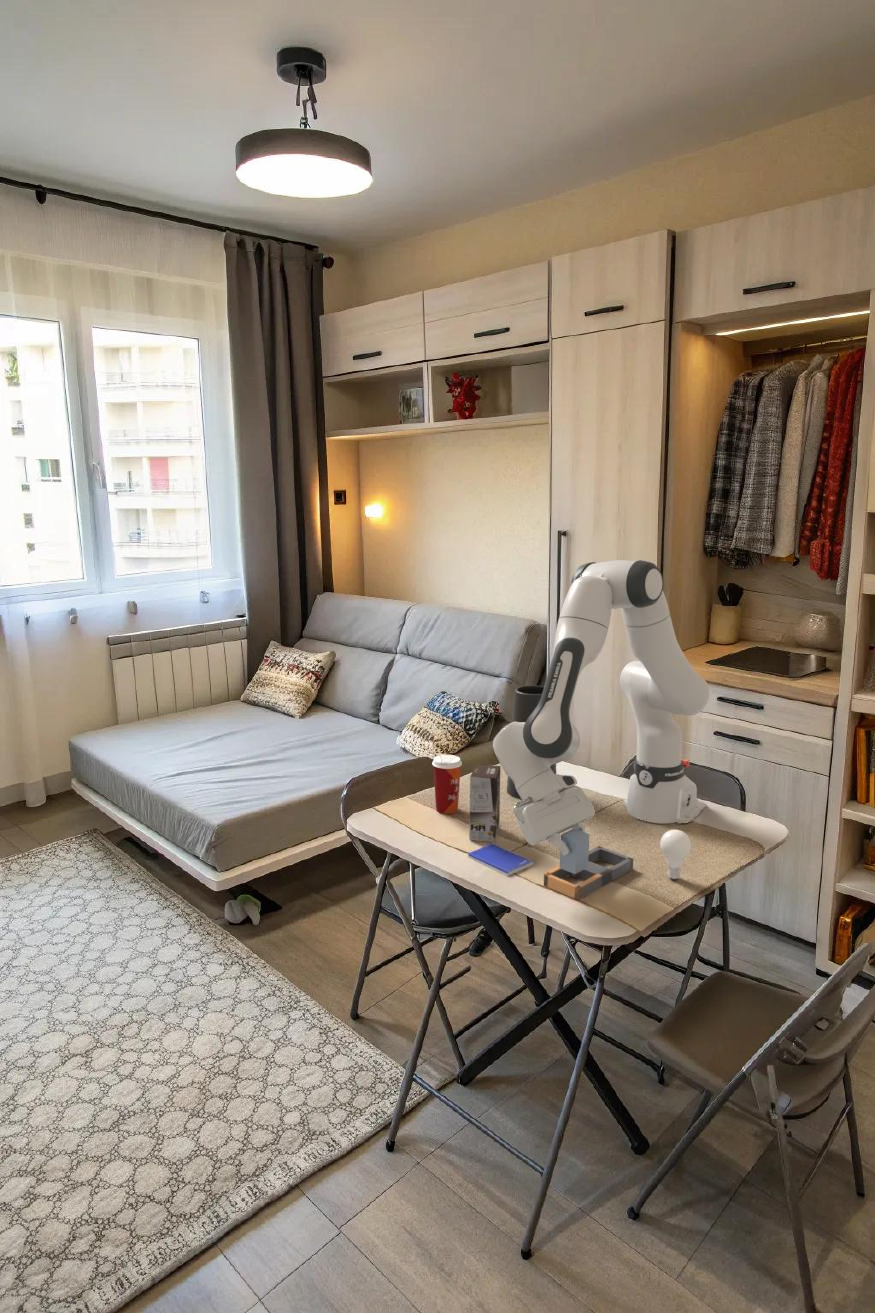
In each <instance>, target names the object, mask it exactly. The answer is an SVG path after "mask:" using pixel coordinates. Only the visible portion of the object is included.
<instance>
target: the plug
mask: <svg viewBox="0 0 875 1313" xmlns="http://www.w3.org/2000/svg"><path fill="white" fill-rule="evenodd" d="M560 836H561V837H560V839H561V840H562V841H563V842H564V843H565V844H568V843H569V845H570V847H571V848H572V852H570V853H569V854H567V855H565V856H564V855H563V854H562V853H561V851H560V850H559V865H560V868H561V869H563V870H566V871H568V872H571V873H573V874H576V873H578V872H580V871H582V870H584V869H586V868H588V855H589V851H590V849H589V848H590V833H587V832H586V831H585V832H582V831H579V830H577V829H572V828H571V829H569V830H566V831H564V832H562V833H560Z"/></svg>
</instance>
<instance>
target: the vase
mask: <svg viewBox="0 0 875 1313" xmlns="http://www.w3.org/2000/svg"><path fill="white" fill-rule="evenodd" d="M543 689H544V686H543V685H529V684H528V685H522V686H518V687H515V688H514V694H513V706H512V718H511V723H512V722H526V721H527V719H528V717H529V716H530V715H531V713H532V712H533V711H534V710H535V708H536V707H537V705H538V703H539V701H540V699H541V696H542V692H543ZM550 768H551V770H552V771H553V773H554V774H557V763H556V764H554V765H551V766H550ZM506 782H507V783H506V784H507V785H506V793H507V794H508V795H509V796H510V797H513V798H515V799H518V800H521V801H523V800H522V799H521V797H520V795H519V794H518V792H517V791H516V788H515V784H514V782H513V781H512V779H511V778H510V777H509V776H508V775H507V781H506Z"/></svg>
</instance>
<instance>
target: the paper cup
mask: <svg viewBox="0 0 875 1313" xmlns="http://www.w3.org/2000/svg"><path fill="white" fill-rule="evenodd" d="M431 764H432V766H433V780H434V781H433V782H434V797H435V800H434V801H435V810H436V812H437V813H439V814H441V813H443V815H453V814H455V813H457V812H458V809H459V797H460V785H461V784H460V781H461V771H462V770H461V767H462V765H463V763H462V761H461V758H460V756H457V755H453V754H441V755H437V756H435V757H434V758H433V760H432V763H431Z"/></svg>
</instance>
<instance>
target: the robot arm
mask: <svg viewBox="0 0 875 1313" xmlns="http://www.w3.org/2000/svg"><path fill="white" fill-rule="evenodd" d="M612 609H615V610H616V609H620V611H621V617H622V621H623V625H624V626H623V627H624V629H625V633H626V637H627V641H628V645H629V646H628V647H629V650H630V651H631V653H632V655H634V657H635V658H637V660H632V661H631V662H628V663H627V664H626V665H625V666H624V668H623V669H622V671H621V672H620V677H619V686H620V689H621V691H622V692H623V694H624V695H625V697H626V698H627V700H628V702H629V704H630V706H631V709H632V713H633V716H634V720H635V725H636V757H635V758H634V762H633V774H632V775H630V778H629V782H628V783H629V786H628V793H627V798H625V799H623V805H624V807H626V811H627V813H628V814H629V815H630V816H631V817H632V818H634V819H637V820H639V819H640V821H643V820H644V821H643V822H646V821H647V823H652V822H653V823H654V824H675V823H674V822H677V823H676V824H681V823H688V822H690V821H691V820H692V819H693V820H694V819H695V818H696V817H697V816H698V815H699V814H700V813H701V812H702V811H703V810H704V809H705V808H706V806H705V805H707V804H706V801H704V800H703V799H700V798H698V797H697V793H698V792H697V791H698V788H697V784H696V783H695V782H693V780H691V779H690V778H689V777H687V775H686V774H685V773H686V772H685V768H686V769H688V768H689V766H690V764H691V762H690V760H688V759H684V758H683V757H682V753H683V741H684V740H683V737H684V736H683V732H682V729H681V728H680V726H679V725H678V723H677V722H676V721H675V719H674V717H673V715H679V716H680V715H681V716H696V715H698V714H700V713H701V712H702V711H703V710H704V709H705V707H706V706H707V704H708V702H709V698H710V688H709V684H708V682H707V681H706V680H705V678H703V677H702V676H701V675H700V674H698V672H697V671H696V670H695V669H694V668H693V666H692V664H690V662H689V660H688V658H687V657H686V655H685V654H684V652H683V650H682V649H681V646H680V644H679V643H678V640H677V636H676V633H675V629H674V625H673V620H672V617H671V613H670V609H669V604H668V600H667V598H666V596H665V593H664V577H663V574H662V572H661V570H660V569H659V567H658V566H657V565H656V564H655V563H653V562H651V561H647V560H641V559H640V560H639V559H638V560H628V559H613V560H608V561H600V562H596V561H593V562H586V563H584V564H581V565H580V566H578V567H577V569H576V570H575V571H574V573H573V575H572V577H571V583H570V587H569V588H568V591H567V593H566V596H565V598H564V602H563V604H562V607H561V609H560V614H559V617H558V621H557V625H556V630H555V635H554V636H555V637H554V644H553V652H552V658H551V662H550V665H549V668H548V672H547V676H546V679H545V683H544V689H543V692H542V696H541V699H540V701H539V703H538V705H537V707H536V708H535V710H534V711H533V712H532V713H531V715H530V716H529V717H528V719H527V721H526V722H512V721H511V722H509V723H508V724H506V725H505V726H503V727H502V728H501V729H499V731H498V732H497V734H496V735H495V737H494V738H493V741H492V748H493V751H494V753H495V755H496V758H497V761H498V762H499V764H500V767H501V768H502V769H503V771H504V773H505V774H506V775H507V777H508V776H509V777H510V778H511V779H512V781H513V782H514V784H515V788H516V791H517V792H518V794H519V795H520V797H521V799H522V800H521V799H520V800H521V801H517V802H516V803H514V806H513V810H512V811H513V814H514V817H516V820H517V823H518V826H519V828H520V831H521V832H522V835H523V836H524V838H525V840H526V842H527V843H528V844H530V845H531V846H535V845H538V844H540V843H542V842H544V841H546V840H548V841H549V843H550V844H551V845H552V846H554V847H555V848H557V849H558V850H559V852H560V851H561V853H562V854H563V855H564V856H565V855H567V854H569V853H570V852H572V848H571V847H570V845H569V843H568V844H565V843H564V842H563V841H562V840H561V834H563V833H565V832H567V831H569V830H572V829H577V830H579V831H582V832H585V833H586V828H585V825H584V823H586V822H587V821H588V820H590V819H592V818H593V817H594V816H595V814H596V811H595V808H594V805H593V804H592V802H591V800H590V799H589V797H588V795H587V794H586V793H585V791H584V790H583V789H582V787H580V786H578V785H577V784H578V781H577V779H576V777H575V776H573V775H569V774H568V775H567V774H565V775H564V774H559V773H556V774H554V773H553V771H552V770H551V768H550V766H551V765H554V764H556V765H557V764H559V763H560V762H561V763H562V762H564V761H567V760H568V759H570V758H572V756H574V755H575V754H576V753H577V751H578V749H579V746H580V734H579V731H578V729H577V728H576V726H575V725H574V724H573V723H572V722H571V719H570V718H571V717H570V710H571V707H572V706H571V705H572V703H573V700H574V699H573V698H574V694H575V692H576V687H577V685H578V680H579V677H580V675H581V673H582V671H583V670H584V669H585V667H586V666H588V665H589V664H592V663H594V662H595V661H596V660H597V659H599V657H600V654H601V652H602V649H603V648H604V645H605V642H606V640H607V636H608V632H609V627H610V621H611V616H612ZM704 807H705V808H704ZM703 808H704V809H703ZM702 809H703V810H702ZM701 810H702V811H701ZM700 811H701V812H700ZM699 812H700V813H699ZM698 813H699V814H698ZM697 814H698V815H697ZM696 815H697V816H696ZM695 816H696V817H695ZM694 817H695V818H694ZM693 820H692V821H693ZM692 821H691V822H692ZM691 822H690V823H691ZM688 824H689V823H688Z"/></svg>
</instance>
